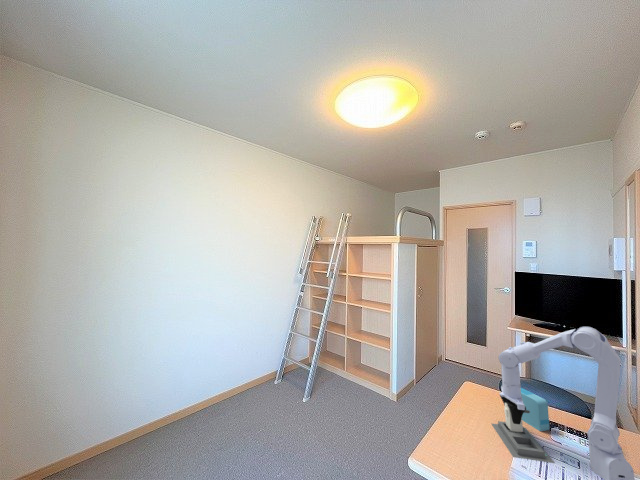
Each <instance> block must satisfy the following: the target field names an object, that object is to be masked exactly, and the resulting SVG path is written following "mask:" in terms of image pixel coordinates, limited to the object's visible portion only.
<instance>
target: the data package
mask: <svg viewBox="0 0 640 480" xmlns="http://www.w3.org/2000/svg"><path fill="white" fill-rule="evenodd" d="M521 396H522V400H523V404H524V405H525V407H526V410H529V411H530V413H523V415H522V422H524V423H525V424H527V425H529V426H531V427H532V428H534V429H536V430H537V431H539V432H546V431H550V419H549V418H550V416H549V415H550V414H549V405H548V402H547V400H546V399H545V398H543V397H541V396H539V395H537V394H535V393H533V392H531V391H529V390H527V389H525V388H523V387H521Z"/></svg>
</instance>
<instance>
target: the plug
mask: <svg viewBox="0 0 640 480" xmlns="http://www.w3.org/2000/svg"><path fill="white" fill-rule="evenodd" d="M503 409H504V415H505V422H506V425H507V426H508V428H509V429H510V430H511V431H518V432H523V427H524V426H523V420H522V418H521V423H520V424H514V423H513V421H512V417H511V412H510V409H509V407H508V405H507V403H505V406H504V408H503ZM524 413H530V411H529V410H525V411H524Z"/></svg>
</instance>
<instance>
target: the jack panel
mask: <svg viewBox="0 0 640 480" xmlns="http://www.w3.org/2000/svg"><path fill="white" fill-rule="evenodd" d="M491 426H492V427H493V429H494V430H495V432H496V434H497V435H498V437H499V438H500V439H501V441H502V442H503V444H504V445H505V447H506V448H507V450H508V452H509V453H510V455H511V456H512V458H516V459H524V460H531V461H535V462H536V461H538V462H543V463H552V464H556V462H555V461H554V460H553V458H552V457H551V456H550V455H549V453H547V452H546V450H545V449H544V448H543V447H542V446H541V444H540V443H539V442H538V441H537V440H536V438H535V437H534V436H533V435H532V434H531V432H530V431H529V430H528V429H527V428H526V427H524V426H523V432H518V431H511V430H510V429H509V428H508V426H507V425H506V421H497V423H492V422H491Z"/></svg>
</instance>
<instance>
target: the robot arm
mask: <svg viewBox="0 0 640 480" xmlns="http://www.w3.org/2000/svg"><path fill="white" fill-rule="evenodd" d="M560 347H568V348H571V349H573V348H575V347H576V348H577V349H578V350H580V351H582V352H584V353H585V354H588V356H590V357H592V359H594V361H596V363H598V365H597V366H598V368H597V380H596V388H595V389H596V390H595V402H594V413H593V418H592V419H591V421H590V426H589V429H587V432H586V433H587V439H588V440H587V441H588V452H589V463H590V465H589V466H590V469H591V470H592V472H593V473H594V474H596V475H597V476H599V477H600V478H601V479H602V480H635V474H634V469H633V467H632V465H631V464H630V462H628V461H627V459H626V458H625V455H624V453H623V448H622V447H621V446H620V443H618V442H619V437H620V434H621V433H620V430H619V428H618V426H617V408H618V399H619V398H618V397H619V396H618V395H619V387H620V386H619V384H620V374H621V358H620V356H619V355H618V353H617V352H616V351H615V349H614V347H612V345H611V344H610V342H609V340H608V338H607V337H606V336H605V335H604V334H602V332H600V331H599V330H597V329H596V328H593V327H591V326H580V327H579V328H577V329H576V328H574V329H570V330H565V331H563V332H559V333H557V334H555V335H553V336H551V337H548V338H545V339H543V340H541V341H537V342H536V343H534V342H530V341H527V342H525V341H522V342H520V344H518V345H515V346H514V347H513V346H509V347H508V349H504V350H502V352H500V353H499V355H498V361H499V362H500V365H501V380H502V381H501V382H502V385H501V386H500V389H501V390H500V392H499V397H500V399H501V400H502V402H503V406H504V407H505V403H507V405H508V407H509V409H510V412H511V417H512V421H513V423H514V424H520V423H521V418H522V415H523V413H524V411H525V410H526V407H525V405H524V404H523V400H522V396H521V388H522V387H521V386H522V385H521V374H520V364H524V363H526V362H530V361H533V360H536V359H538V358H541V353H544V352H546V351H550V350H552V349H553V350H554V349H556V348H560Z"/></svg>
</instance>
